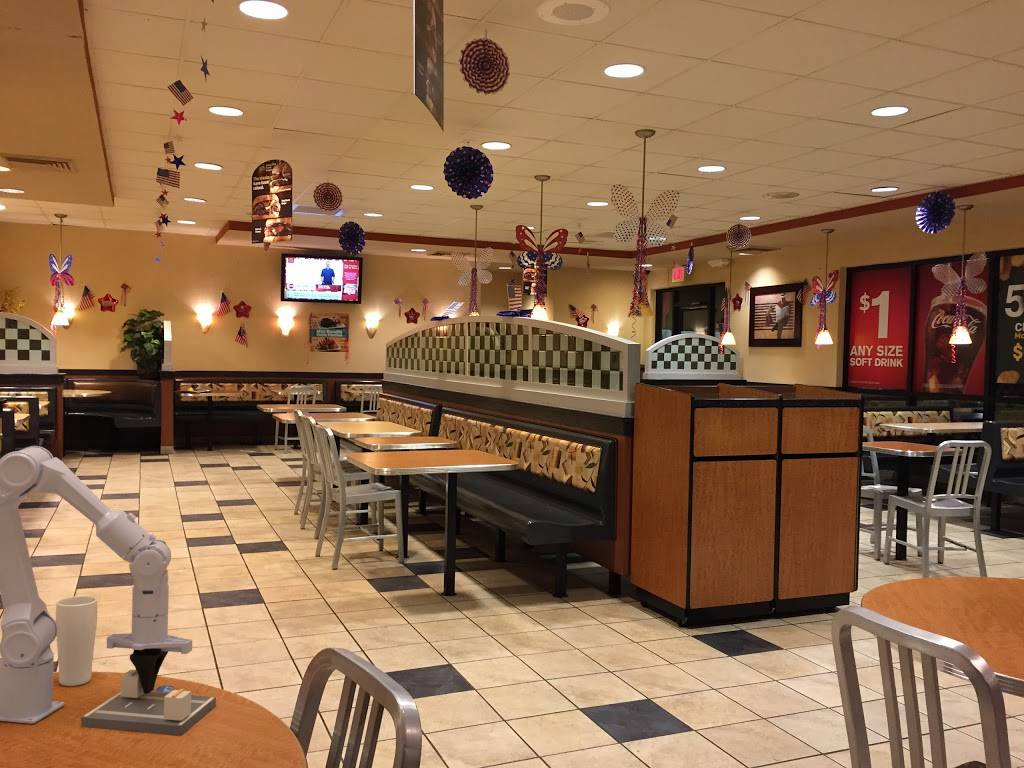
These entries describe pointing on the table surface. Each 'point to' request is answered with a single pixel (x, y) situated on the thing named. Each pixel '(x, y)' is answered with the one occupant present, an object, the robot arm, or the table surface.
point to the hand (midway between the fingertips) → (148, 691)
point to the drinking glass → (76, 638)
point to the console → (145, 714)
